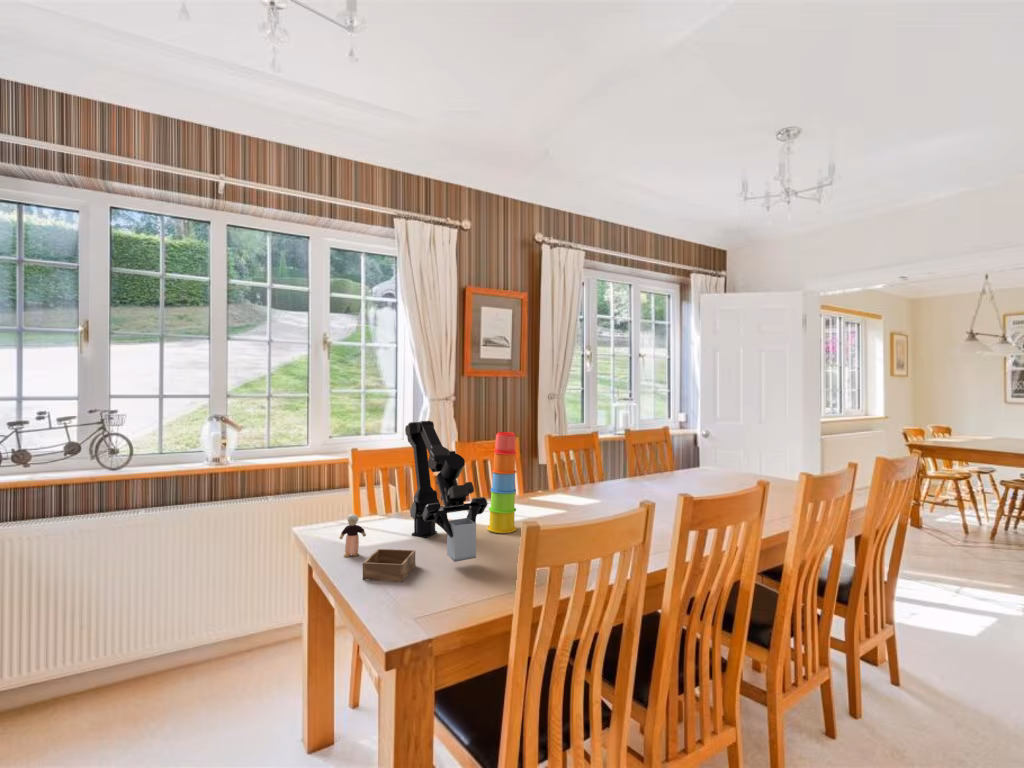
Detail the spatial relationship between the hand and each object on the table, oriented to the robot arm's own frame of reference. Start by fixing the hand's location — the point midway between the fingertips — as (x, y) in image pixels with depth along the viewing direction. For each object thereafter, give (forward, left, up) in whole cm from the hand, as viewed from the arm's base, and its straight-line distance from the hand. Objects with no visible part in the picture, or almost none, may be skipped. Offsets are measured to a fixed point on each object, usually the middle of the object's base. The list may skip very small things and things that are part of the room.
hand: (463, 535), depth 145 cm
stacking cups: (-6, +37, -10) cm, 39 cm away
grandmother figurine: (-36, -5, -10) cm, 38 cm away
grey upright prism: (-1, +1, -7) cm, 7 cm away
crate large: (-17, -11, -10) cm, 23 cm away
